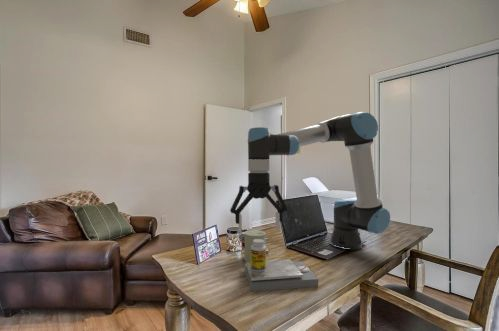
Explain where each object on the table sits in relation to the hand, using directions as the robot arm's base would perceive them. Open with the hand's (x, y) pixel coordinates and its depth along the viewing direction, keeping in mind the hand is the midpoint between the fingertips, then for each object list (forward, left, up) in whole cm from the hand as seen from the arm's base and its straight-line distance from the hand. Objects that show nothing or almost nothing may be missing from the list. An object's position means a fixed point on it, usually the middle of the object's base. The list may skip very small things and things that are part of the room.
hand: (259, 231), depth 89 cm
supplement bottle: (0, 0, -14) cm, 14 cm away
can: (-2, -18, -18) cm, 25 cm away
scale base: (-8, 0, -17) cm, 19 cm away
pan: (-5, 0, -14) cm, 15 cm away
